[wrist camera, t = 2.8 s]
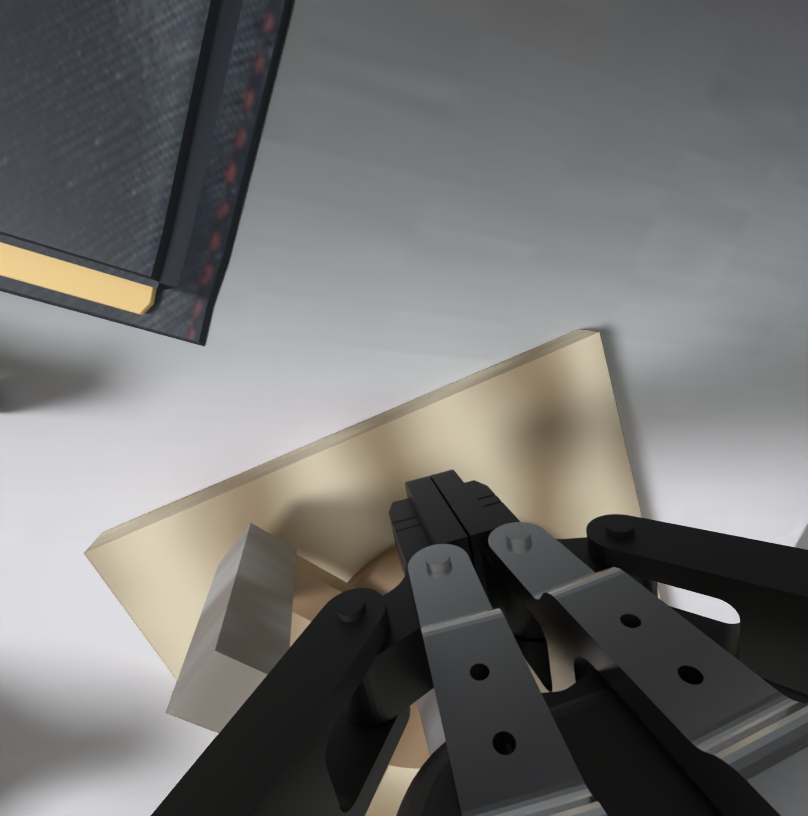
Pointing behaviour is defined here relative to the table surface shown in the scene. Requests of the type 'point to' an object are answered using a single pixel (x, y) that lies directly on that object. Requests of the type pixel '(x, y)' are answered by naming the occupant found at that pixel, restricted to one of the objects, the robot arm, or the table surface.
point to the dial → (276, 634)
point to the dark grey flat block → (130, 151)
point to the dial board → (387, 491)
